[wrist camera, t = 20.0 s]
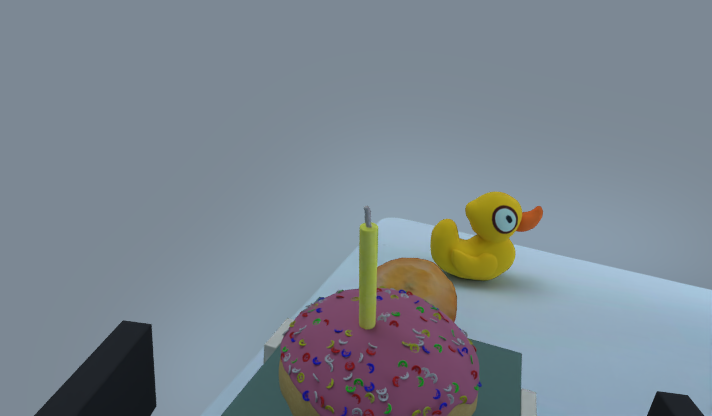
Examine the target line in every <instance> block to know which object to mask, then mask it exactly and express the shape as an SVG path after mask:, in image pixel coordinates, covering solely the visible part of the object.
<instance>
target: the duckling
mask: <svg viewBox="0 0 712 416" xmlns="http://www.w3.org/2000/svg"><path fill="white" fill-rule="evenodd" d="M465 211H466V216H467V218H468V219H469V221H470V224H471V227H472V229H473V230H474V232H476V233H477V235H475V236H473V237H472V238H470V239H468V240H464V239H461V238H459V235H458V230H457V226H456V224H455V222H454V221H453V220H451V219H443V220H441V221H440V222H439V223H438V224H437V225H436V226H435V227H434V229H433V231H432V235H431V255H432V258H433V260H434V261H435V263H436V264H437V265H438V266H439V267H440V268H441V269H443V270H444V271H446V272H448V273H450V274H452V275H454V276H457V277H460V278H465V279H473V280H483V281H485V280H491V279H493V278H496V277H497V276H499V275H501V274H502V273H504V272H505V271H506V270H508V269H509V268H510V267H511V265H512V264H513V262H514V259H515V248H514V246H513V244H512V242H511V241H510V239H509V237H510V236H511V235H513V233H514V232H515V231H519V232H524V231H528V230H530V229H532V228H534V227H535V226H536V225H537V224H538V223H539V221H540V220H541V218H542V215H543V210H542V208H541V207H540V206H537V207H536V208H535V209H533V210H531V211H529V212H522V209H521V206H520V204H519V202H518V201H517V200H516V199H514V198H513V197H511V196H510V195H508V194H506V193H502V192H490V193H486V194H484V195H482V196H480V197H478V198H477V199H475V200H473V201H471V202H469V203H468V204H467V205H466V208H465Z"/></svg>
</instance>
